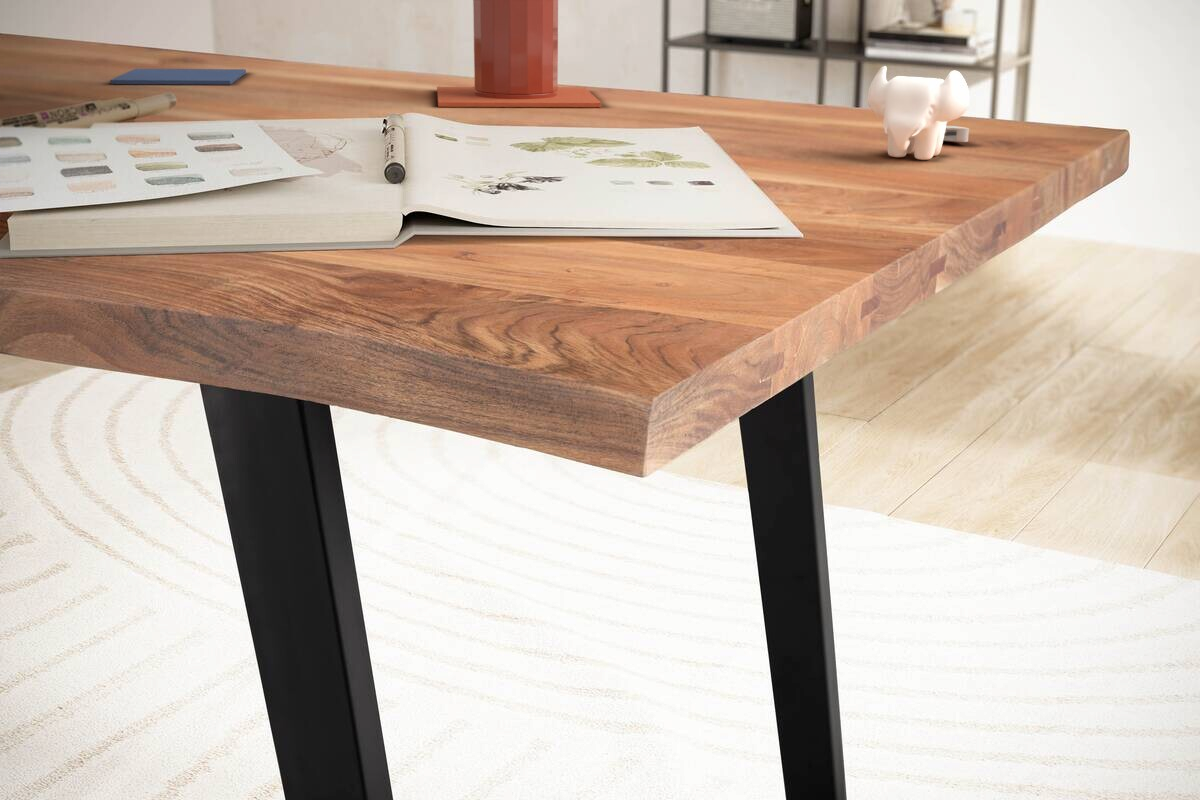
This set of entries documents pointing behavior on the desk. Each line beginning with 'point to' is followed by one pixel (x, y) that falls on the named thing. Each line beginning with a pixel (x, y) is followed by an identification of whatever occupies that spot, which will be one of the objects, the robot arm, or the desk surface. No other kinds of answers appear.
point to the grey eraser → (956, 134)
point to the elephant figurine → (917, 110)
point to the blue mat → (180, 76)
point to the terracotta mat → (469, 99)
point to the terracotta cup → (515, 48)
